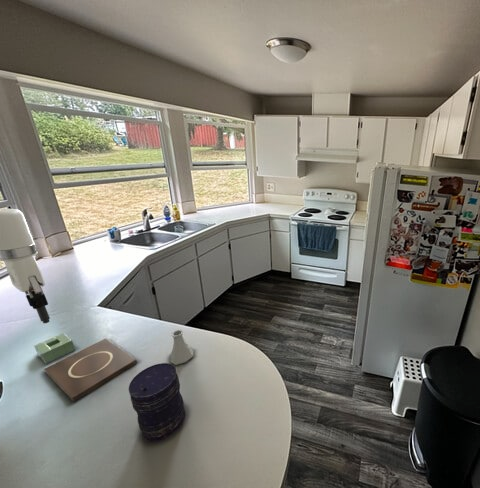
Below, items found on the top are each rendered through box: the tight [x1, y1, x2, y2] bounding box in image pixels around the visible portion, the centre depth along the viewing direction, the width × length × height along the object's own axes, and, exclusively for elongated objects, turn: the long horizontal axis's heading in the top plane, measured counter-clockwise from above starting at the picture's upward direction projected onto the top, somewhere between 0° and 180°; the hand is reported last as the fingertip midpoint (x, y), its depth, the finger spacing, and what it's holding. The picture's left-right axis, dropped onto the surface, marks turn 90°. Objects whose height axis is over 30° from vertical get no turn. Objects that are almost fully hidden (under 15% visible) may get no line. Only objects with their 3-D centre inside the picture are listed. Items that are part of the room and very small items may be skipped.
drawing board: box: [43, 337, 138, 403], centre depth 80 cm, size 16×20×2 cm
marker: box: [31, 290, 51, 324], centre depth 79 cm, size 2×2×12 cm
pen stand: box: [33, 333, 76, 365], centre depth 85 cm, size 7×7×4 cm
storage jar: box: [128, 362, 187, 443], centre depth 62 cm, size 10×10×15 cm
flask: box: [169, 329, 194, 366], centre depth 84 cm, size 7×7×10 cm
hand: (39, 305), depth 79 cm, fingers closed on marker, 2 cm apart
